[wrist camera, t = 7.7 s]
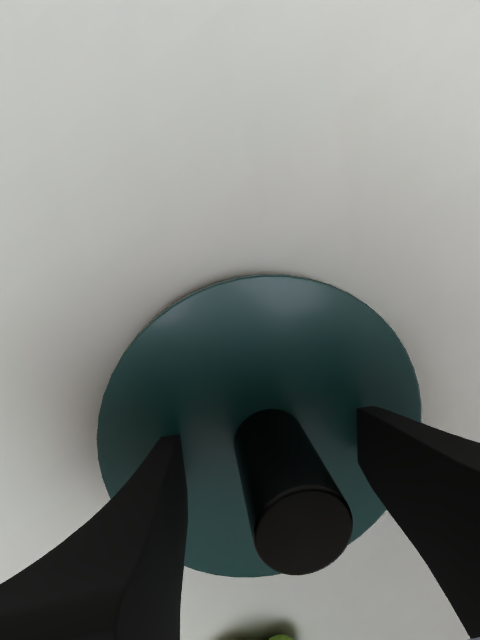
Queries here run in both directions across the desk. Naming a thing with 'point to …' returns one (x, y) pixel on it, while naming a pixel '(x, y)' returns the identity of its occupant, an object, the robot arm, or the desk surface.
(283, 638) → the grapes
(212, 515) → the pot lid
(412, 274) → the desk surface
